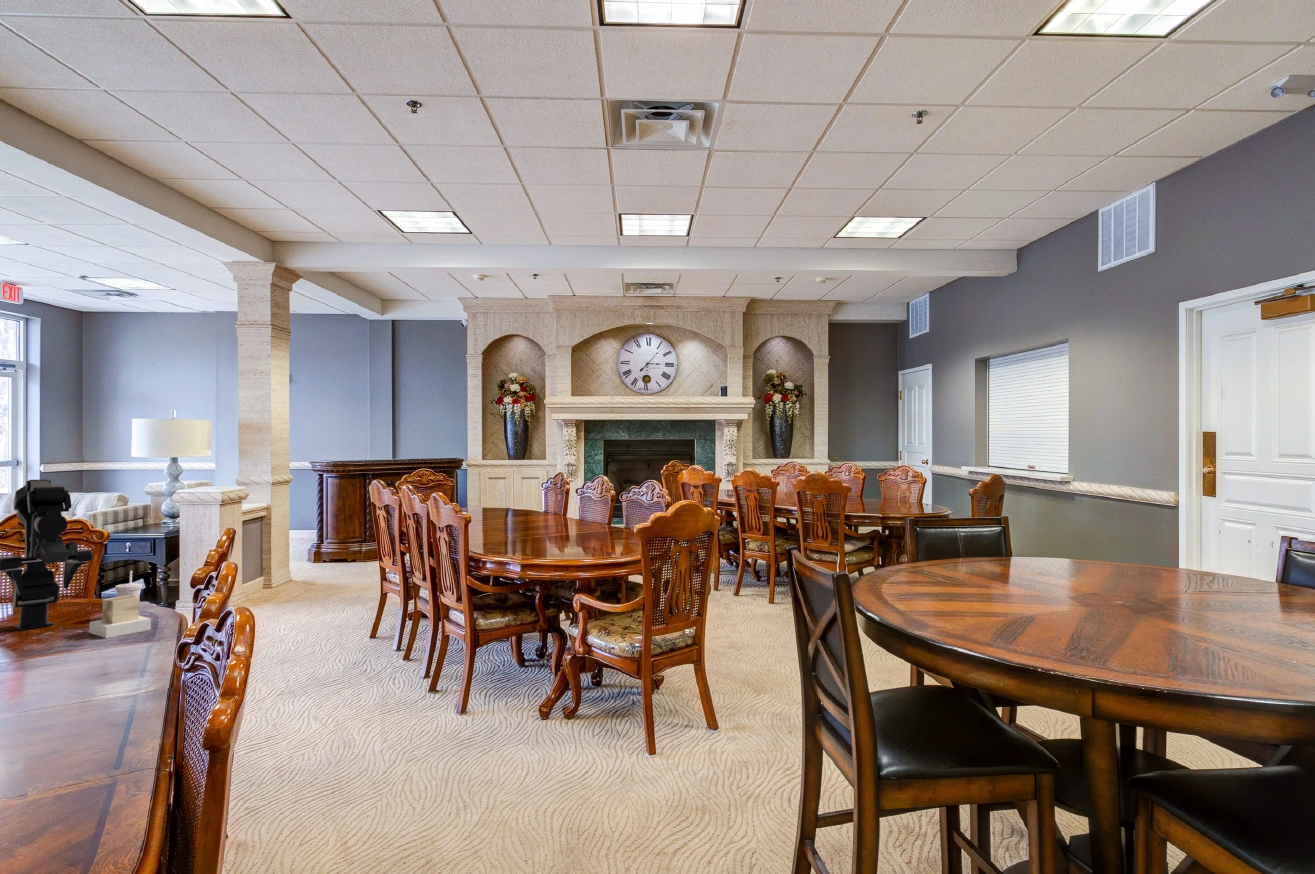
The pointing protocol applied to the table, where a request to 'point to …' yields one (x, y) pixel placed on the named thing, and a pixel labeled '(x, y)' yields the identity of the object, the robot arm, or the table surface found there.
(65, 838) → the table surface
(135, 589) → the smoothie
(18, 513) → the robot arm
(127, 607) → the maple cube
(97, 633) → the plinth
